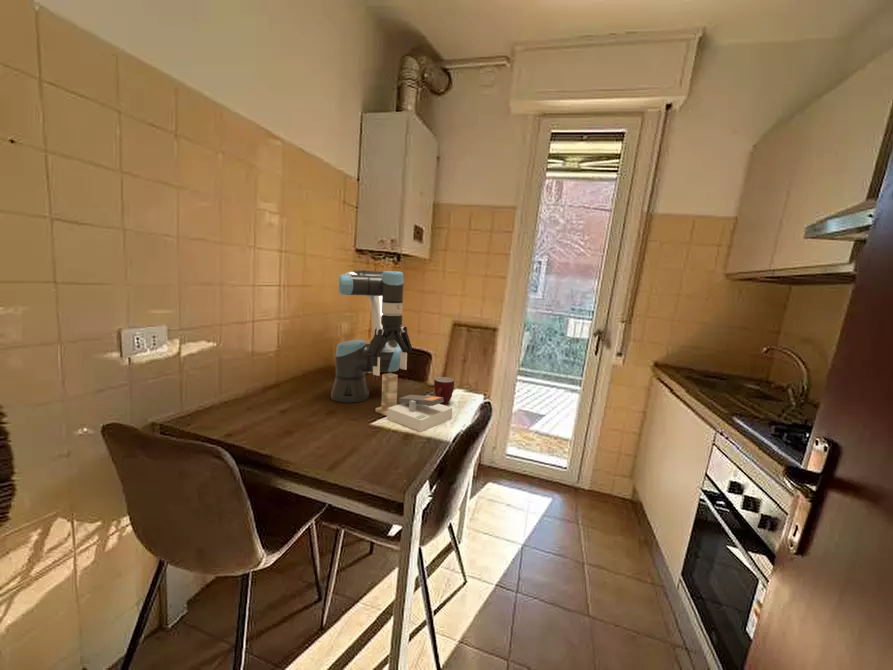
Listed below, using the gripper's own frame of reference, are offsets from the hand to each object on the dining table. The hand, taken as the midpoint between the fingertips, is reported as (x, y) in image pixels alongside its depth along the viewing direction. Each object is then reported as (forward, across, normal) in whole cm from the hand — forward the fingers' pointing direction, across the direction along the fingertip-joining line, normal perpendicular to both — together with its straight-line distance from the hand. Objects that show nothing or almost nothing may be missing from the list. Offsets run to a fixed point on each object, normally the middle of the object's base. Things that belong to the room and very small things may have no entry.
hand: (390, 371), depth 139 cm
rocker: (+8, +3, -13) cm, 16 cm away
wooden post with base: (+15, 0, 0) cm, 15 cm away
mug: (+16, +21, -9) cm, 28 cm away
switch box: (+15, +3, -13) cm, 20 cm away
